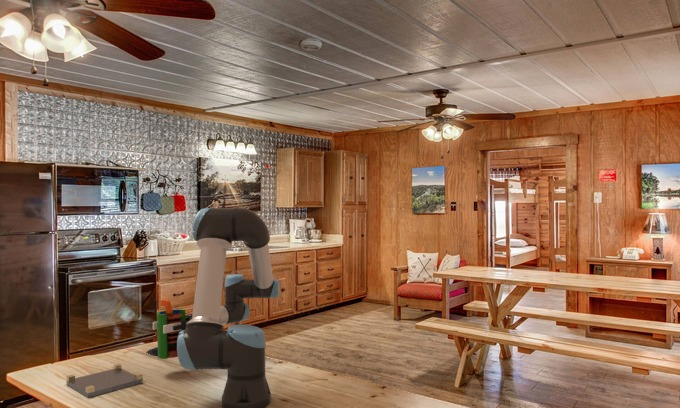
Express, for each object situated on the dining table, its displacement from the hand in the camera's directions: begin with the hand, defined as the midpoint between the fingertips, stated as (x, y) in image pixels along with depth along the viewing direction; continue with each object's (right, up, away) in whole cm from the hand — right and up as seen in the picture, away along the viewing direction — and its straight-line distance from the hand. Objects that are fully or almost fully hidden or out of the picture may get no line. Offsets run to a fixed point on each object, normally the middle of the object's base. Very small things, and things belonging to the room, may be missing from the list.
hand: (158, 327), depth 173 cm
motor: (+3, -11, +4) cm, 12 cm away
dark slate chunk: (-6, -19, +36) cm, 41 cm away
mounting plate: (-16, -18, -6) cm, 25 cm away
